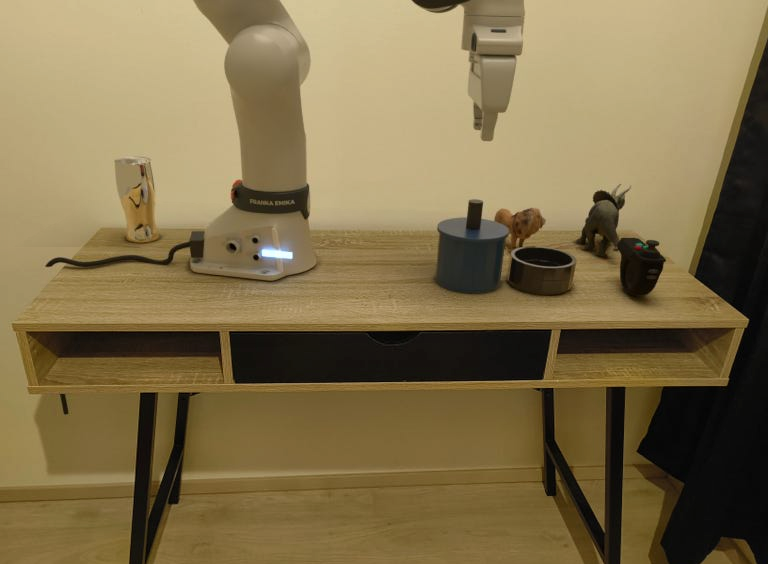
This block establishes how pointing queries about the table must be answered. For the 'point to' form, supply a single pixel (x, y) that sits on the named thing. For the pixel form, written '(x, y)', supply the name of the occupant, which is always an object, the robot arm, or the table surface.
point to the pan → (541, 270)
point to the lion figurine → (520, 224)
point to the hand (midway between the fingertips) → (482, 134)
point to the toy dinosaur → (603, 221)
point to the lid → (473, 226)
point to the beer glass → (137, 197)
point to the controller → (639, 265)
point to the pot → (469, 265)
